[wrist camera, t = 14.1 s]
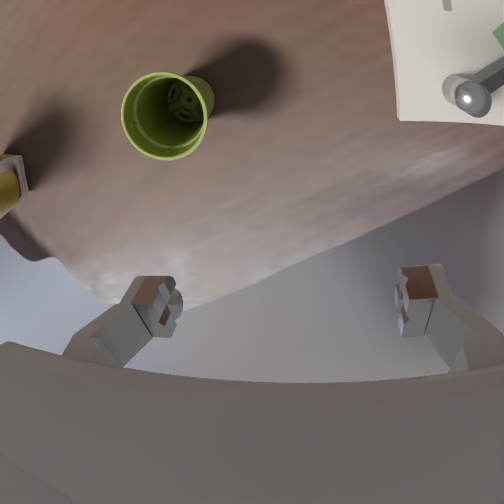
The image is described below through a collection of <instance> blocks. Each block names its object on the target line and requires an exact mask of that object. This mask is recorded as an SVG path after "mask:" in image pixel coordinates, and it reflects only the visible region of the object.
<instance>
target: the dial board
mask: <svg viewBox="0 0 504 504" xmlns="http://www.w3.org/2000/svg"><path fill="white" fill-rule="evenodd" d="M384 2H385V8H386V13H387V19H388V26H389V32H390V40H391V47H392V56H393V65H394V75H395V87H396V101H397V118H398V119H399V120H400V121H443V122H465V123H480V124H492V125H502V126H504V85H503V86H501V87H500V88H498V89H497V90H495V91H494V92H492V93H491V94H490V95H491V99H492V105H491V109H490V111H489V112H488V114H487V115H485V116H484V117H481V118H476V117H473V116H471V115H469V114H468V113H466V112H464V111H463V110H461V109H459V108H458V107H456V106H454V105H453V104H451V103H449V102H448V101H447V100H446V99H445V98H444V96H443V93H442V84H443V81H444V80H445V78H446V77H448V76H450V75H458V76H461V77H464V78H466V79H468V78H469V77H471V76H472V75H474V74H475V73H477V72H479V71H480V70H482V69H483V68H485V67H487V66H488V65H490V64H491V63H493V62H495V61H496V60H498V59H499V58H501V57H503V56H504V0H384Z"/></svg>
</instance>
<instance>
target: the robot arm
mask: <svg viewBox="0 0 504 504" xmlns="http://www.w3.org/2000/svg"><path fill="white" fill-rule="evenodd" d="M397 278H398V282H399V283H398V284H397V285H396V289H395V307H396V312H397V313H398V314H399V315H400V316H399V321H398V323H399V329H400V334H401V337H413V336H414V337H415V336H424V338H425V339H426V340H427V341H428V343H429V344H430V345H431V346H432V347H433V348H434V350H435V351H436V352H437V353H438V354H439V356H440V357H441V358H442V359H443V360H444V362H445V363H446V364H447V365H448V366H449V367H450V371H449V372H448V374H440V375H432V376H424V377H414V378H404V379H392V380H378V381H361V382H336V383H275V382H252V381H251V382H250V381H235V380H221V379H220V380H219V379H208V378H197V377H188V376H179V375H171V374H163V373H155V372H148V371H141V370H135V369H129V368H123V366H124V365H125V364H126V363H127V362H129V361H130V359H131V358H133V357H134V356H135V355H136V354H137V353H138V352H139V351H140V350H141V349H142V348H143V347H144V346H145V345H146V344H147V343H148V342H149V341H150V340H151V339H152V337H162V338H163V337H164V338H171V337H172V335H173V332H174V330H175V327H176V322H175V320H176V319H177V318H178V317H180V315H181V313H182V310H183V299H182V296H181V293H180V292H179V291H178V290H176V289H175V286H176V282H175V280H174V278H173V277H171V276H137V277H136V278H135V279H134V280H133V282H132V284H131V285H130V287H129V288H128V290H127V292H126V293H125V295H124V297H123V298H122V300H121V302H120V303H119V304H116V305H114V306H113V307H111V308H110V309H108V310H107V311H106V312H104V313H103V314H101V315H100V316H99V317H97V318H96V319H94V320H93V321H92V322H90V323H89V324H87V325H86V326H85V327H83V328H82V329H80V330H79V331H78V332H76V333H75V334H74V335H73V337H72V338H71V340H70V342H69V344H68V345H67V347H66V349H65V350H64V352H63V354H62V355H58V354H54V353H50V352H46V351H42V350H38V349H35V348H31V347H27V346H23V345H20V344H17V343H14V342H5V343H3V344H1V345H0V504H504V335H503V333H501V332H500V331H499V330H498V329H497V328H496V327H494V326H493V325H492V324H491V323H490V322H488V321H487V320H486V319H485V318H484V317H482V316H481V315H480V314H479V313H477V312H476V311H475V310H474V309H473V308H471V307H470V306H469V305H468V304H466V303H465V302H464V301H462V300H461V299H460V298H459V297H454V296H453V294H452V291H451V288H450V286H449V283H448V281H447V278H446V276H445V273H444V271H443V269H442V266H441V265H440V264H431V265H421V266H407V267H399V269H398V274H397Z"/></svg>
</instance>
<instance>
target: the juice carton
mask: <svg viewBox="0 0 504 504" xmlns="http://www.w3.org/2000/svg"><path fill="white" fill-rule="evenodd" d="M28 192H29V189H28V184H27V180H26V175H25V170H24V163H23V158H22V156H21V155H12V154H1V155H0V219H1V218H2V217H3V216H4V215H5V214H6V213H7V212H9V211H10V210H11V209H12V208H13V207H14V206H15V205H16V204H18V203H19V202H20V201H21V200H22V199H23V198H24V196H25V195H26V194H27V193H28Z"/></svg>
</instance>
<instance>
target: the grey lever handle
mask: <svg viewBox="0 0 504 504" xmlns="http://www.w3.org/2000/svg"><path fill="white" fill-rule="evenodd" d="M503 85H504V56H503V57H501V58H499V59H498V60H496V61H495V62H493V63H491V64H490V65H488V66H487V67H485V68H483V69H482V70H480V71H479V72H477V73H475V74H474V75H472V76H471V77H469V78H468V79H466V78H464V77H461V76H458V75H450V76H448V77H446V78H445V80H444V81H443V84H442V93H443V96H444V98H445V99H446V100H447V101H448V102H449V103H451V104H453V105H454V106H456V107H458V108H459V109H461V110H463V111H464V112H466V113H468V114H469V115H471V116H473V117H476V118H481V117H484V116H485V115H487V114H488V112H489V111H490V109H491V105H492V99H491V95H490V94H491V93H492V92H494V91H495V90H497V89H498V88H500V87H501V86H503Z"/></svg>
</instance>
